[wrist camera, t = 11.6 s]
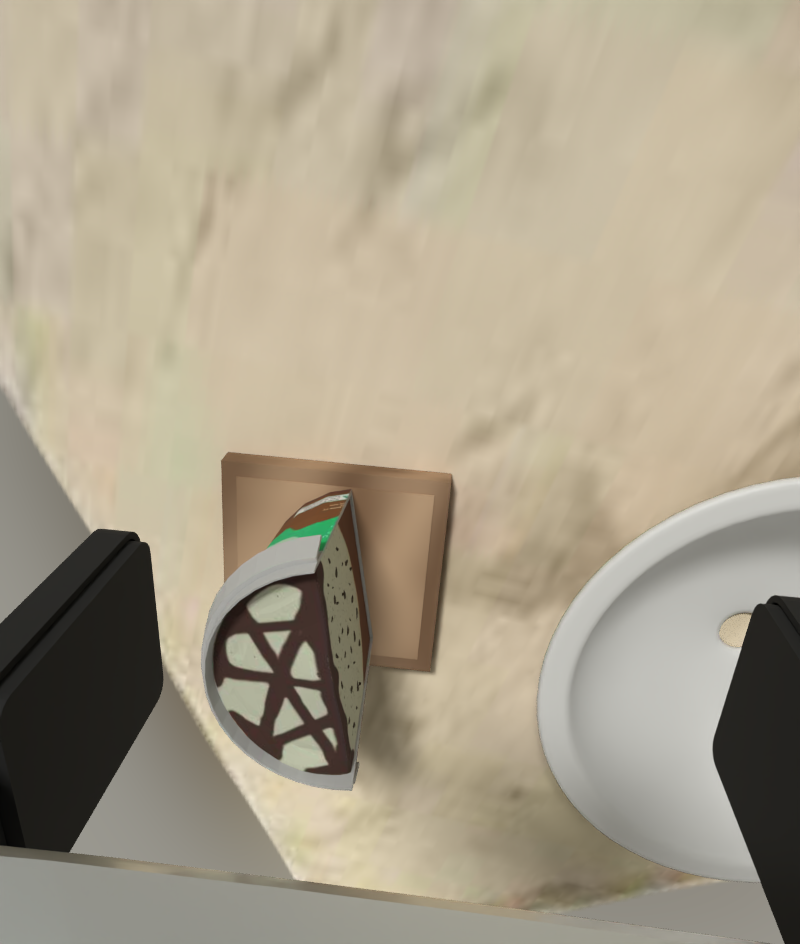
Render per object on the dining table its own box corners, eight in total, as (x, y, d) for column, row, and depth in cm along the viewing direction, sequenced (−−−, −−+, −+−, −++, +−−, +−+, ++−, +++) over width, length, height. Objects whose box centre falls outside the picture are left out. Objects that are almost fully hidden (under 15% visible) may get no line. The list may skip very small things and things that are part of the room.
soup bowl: (934, 352, 34) (1040, 391, 28) (1000, 727, 41) (1094, 821, 35) (462, 521, 39) (463, 586, 33) (599, 826, 47) (621, 924, 41)
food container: (231, 470, 37) (158, 568, 28) (347, 462, 36) (312, 559, 27) (272, 664, 42) (221, 802, 33) (376, 659, 41) (353, 799, 32)
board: (451, 473, 38) (451, 483, 37) (430, 658, 42) (430, 672, 41) (228, 452, 38) (220, 461, 37) (231, 637, 43) (225, 650, 42)
